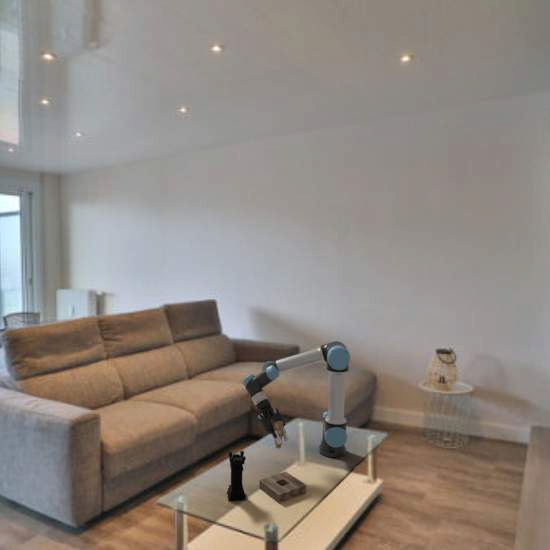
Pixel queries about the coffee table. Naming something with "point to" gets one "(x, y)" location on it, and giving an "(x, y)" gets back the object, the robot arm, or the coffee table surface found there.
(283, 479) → the walnut board
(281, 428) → the oak peg
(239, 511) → the coffee table surface
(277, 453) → the coffee table surface
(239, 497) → the chess piece
